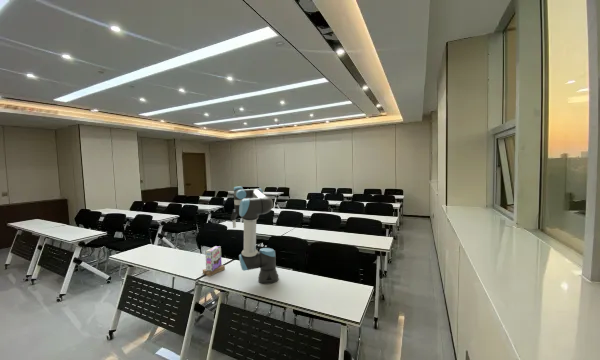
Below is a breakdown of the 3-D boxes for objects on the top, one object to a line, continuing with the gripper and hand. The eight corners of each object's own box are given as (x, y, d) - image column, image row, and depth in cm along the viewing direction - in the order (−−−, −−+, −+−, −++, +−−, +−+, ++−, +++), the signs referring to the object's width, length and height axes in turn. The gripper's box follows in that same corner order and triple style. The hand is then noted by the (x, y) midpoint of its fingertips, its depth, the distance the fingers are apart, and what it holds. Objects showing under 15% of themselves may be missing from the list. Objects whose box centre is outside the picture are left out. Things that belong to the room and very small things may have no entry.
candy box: (212, 271, 200) (211, 251, 199) (205, 270, 201) (205, 250, 201) (221, 265, 213) (221, 246, 213) (215, 264, 215) (215, 245, 214)
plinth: (224, 269, 211) (224, 265, 211) (209, 275, 199) (209, 272, 199) (217, 267, 216) (217, 263, 216) (202, 273, 204) (202, 269, 204)
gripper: (252, 204, 214) (253, 229, 214) (232, 203, 227) (233, 226, 228) (245, 205, 207) (246, 230, 208) (225, 204, 221) (226, 227, 222)
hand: (239, 228), depth 218 cm, fingers open, 13 cm apart
